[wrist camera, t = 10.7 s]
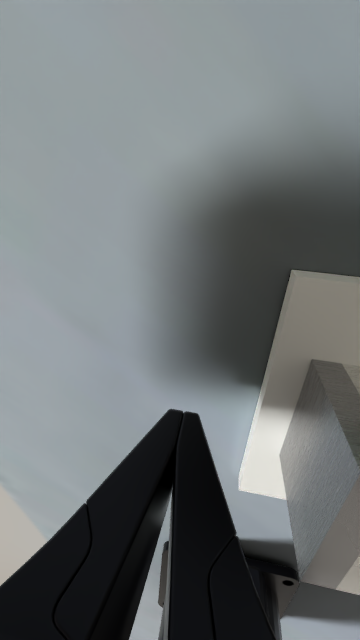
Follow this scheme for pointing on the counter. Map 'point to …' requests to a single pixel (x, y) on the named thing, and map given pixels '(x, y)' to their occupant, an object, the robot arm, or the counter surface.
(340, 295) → the long white tray
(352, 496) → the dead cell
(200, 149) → the counter surface
